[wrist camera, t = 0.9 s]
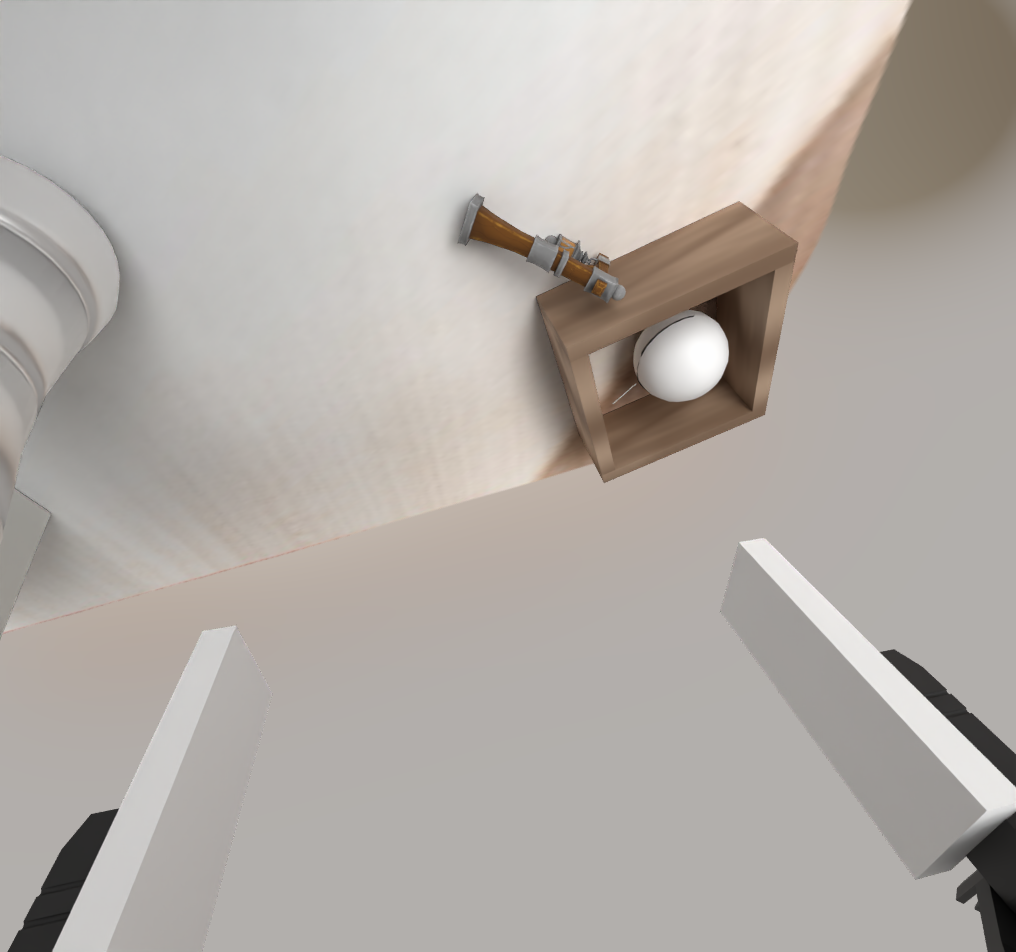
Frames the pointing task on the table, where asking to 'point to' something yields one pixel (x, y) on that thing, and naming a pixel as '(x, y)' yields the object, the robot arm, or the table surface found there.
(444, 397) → the table surface
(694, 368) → the white egg
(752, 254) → the organizer frame
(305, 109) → the table surface
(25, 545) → the console
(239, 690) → the robot arm
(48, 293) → the plastic bottle
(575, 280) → the wooden post with brackets
